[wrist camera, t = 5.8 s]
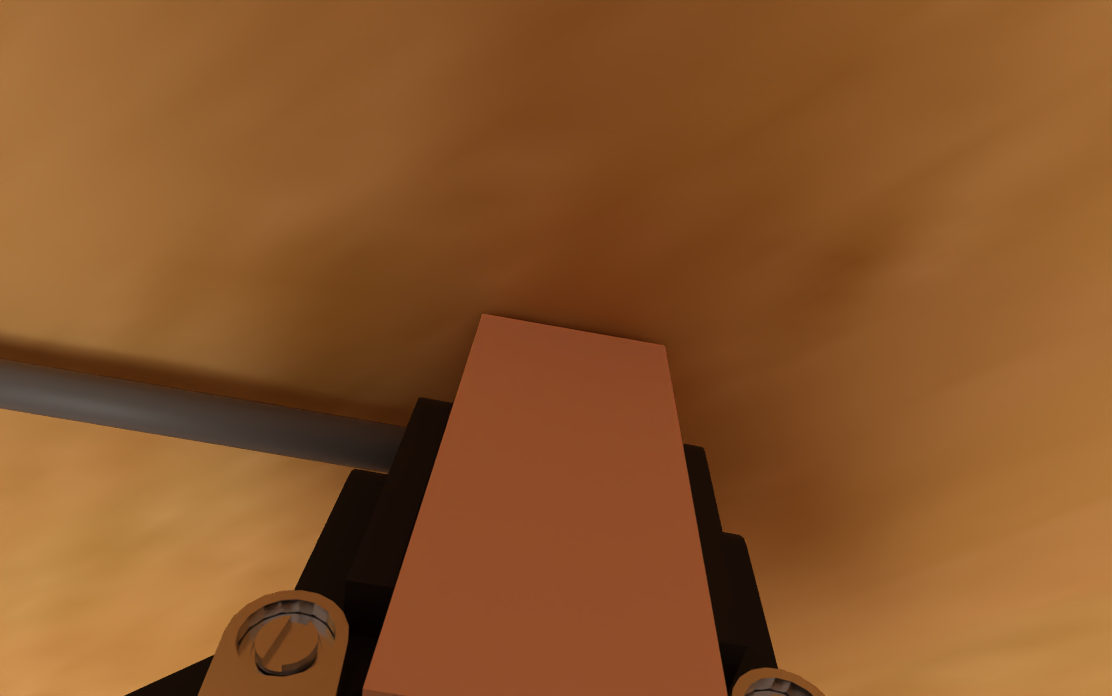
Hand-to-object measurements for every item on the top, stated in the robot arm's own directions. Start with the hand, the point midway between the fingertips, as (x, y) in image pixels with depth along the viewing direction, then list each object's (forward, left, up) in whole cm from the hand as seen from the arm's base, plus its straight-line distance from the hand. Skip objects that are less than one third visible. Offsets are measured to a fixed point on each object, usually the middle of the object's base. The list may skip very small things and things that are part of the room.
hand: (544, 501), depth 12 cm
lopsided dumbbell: (0, -10, -1) cm, 10 cm away
